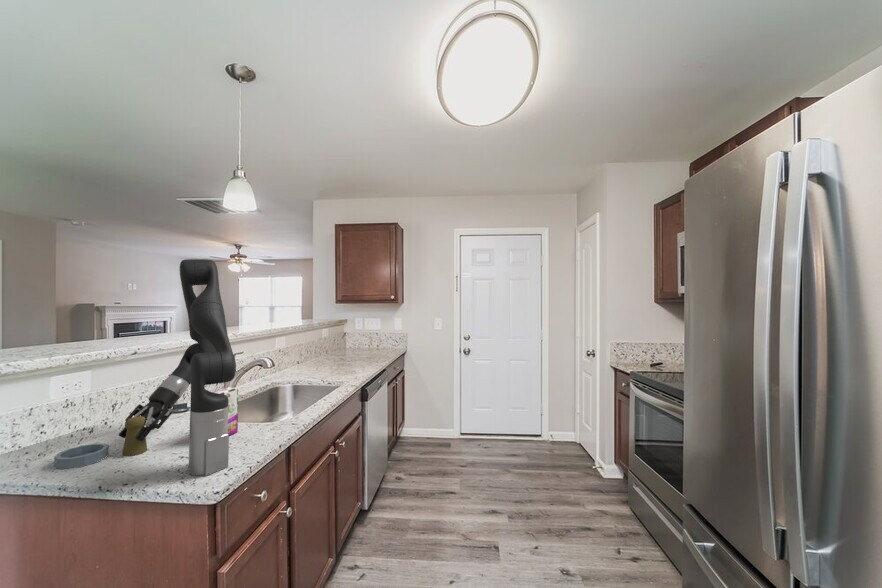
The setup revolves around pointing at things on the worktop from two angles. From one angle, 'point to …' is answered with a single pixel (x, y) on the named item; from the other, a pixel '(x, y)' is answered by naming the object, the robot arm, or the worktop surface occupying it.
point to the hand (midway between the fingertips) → (129, 438)
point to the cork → (132, 444)
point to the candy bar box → (231, 408)
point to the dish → (81, 455)
